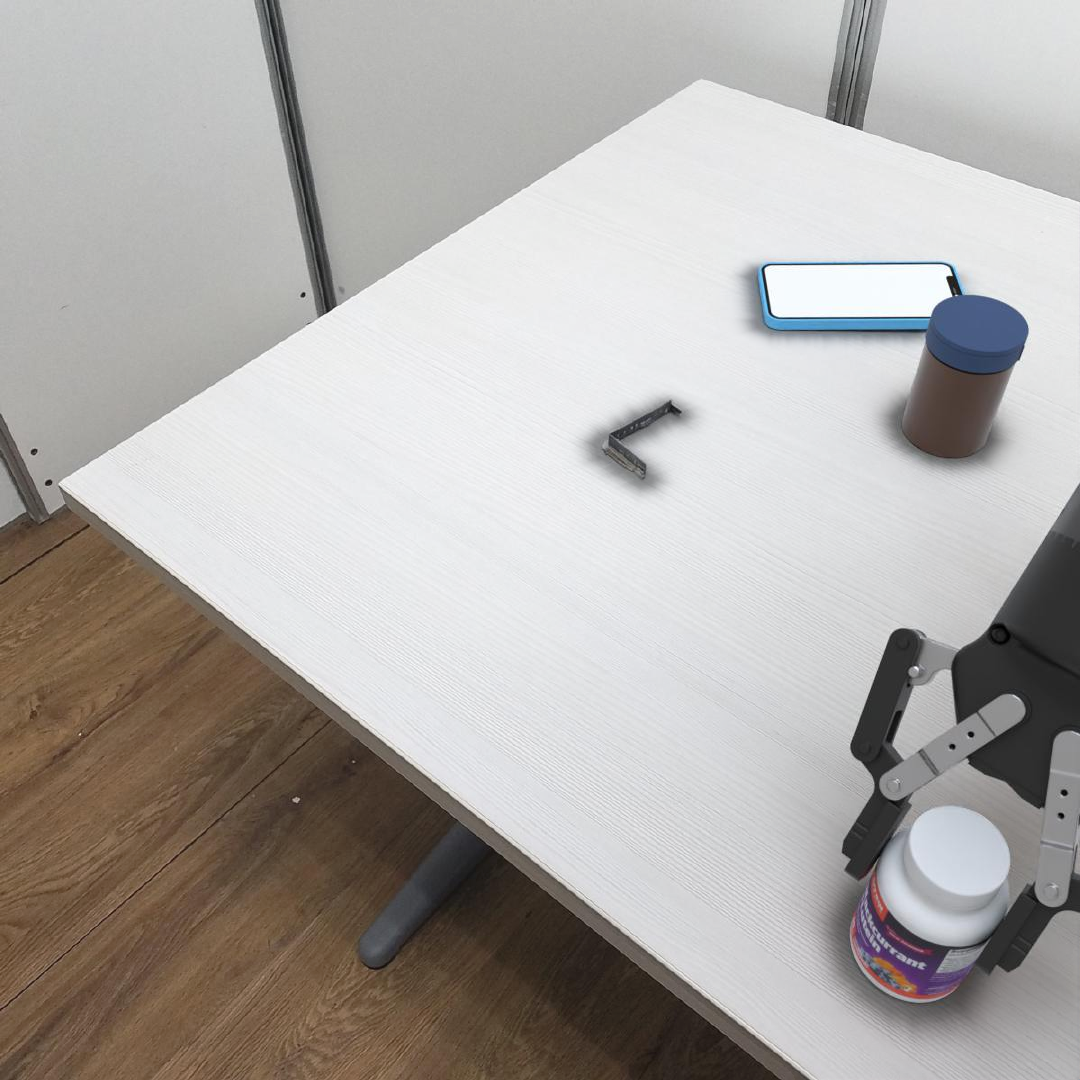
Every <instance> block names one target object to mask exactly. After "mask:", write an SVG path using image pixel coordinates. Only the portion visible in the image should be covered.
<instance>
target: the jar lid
mask: <svg viewBox="0 0 1080 1080" xmlns="http://www.w3.org/2000/svg"><path fill="white" fill-rule="evenodd" d="M1029 333H1030V328H1029V324H1028V321H1027V320H1026V318H1025V317H1024V316H1023V314H1022V313H1021V312H1020V311H1018V310H1017V309H1016V308H1015V307H1013V306H1011V305H1010V304H1008V303H1006V302H1004V301H1002V300H999V299H996V298H993V297H989V296H985V295H977V294H965V295H959V296H953V297H950V298H947V299H945V300H943V301H941V302H940V303H938V304H937V305H936V306H935V308H934V309H933V311H932V314H931V318H930V321H929V324H928V328H927V329H926V331H925V338H924V339H925V341H926V344H927V346H928V348H929V350H930V351H931V352H932V353H933V355H934V356H936V357H937V358H938V359H939V360H941V361H942V362H944V363H946V364H947V365H949V366H952V367H954V368H957V369H960V370H963V371H967V372H973V373H995V372H1000V371H1003V370H1006V369H1008V368H1010V367H1012V366H1013V365H1014V364H1015V365H1016V363H1017V362H1020V360H1021V358H1022V356H1023V352H1024V350H1025V347H1026V345H1025V344H1026V342H1027V339H1028V337H1029Z"/></svg>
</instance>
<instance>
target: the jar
mask: <svg viewBox="0 0 1080 1080" xmlns="http://www.w3.org/2000/svg"><path fill="white" fill-rule="evenodd" d="M1015 366H1016V363H1015V364H1014V365H1013V366H1012V367H1010V368H1008V369H1006V370H1003V371H1000V372H995V373H973V372H967V371H963V370H960V369H957V368H954V367H952V366H949V365H947V364H946V363H944V362H942V361H941V360H939V359H938V358H937V357H936V356H934V355H933V353H932V352H931V351H930V350H929V348H928V346H927V344H926V340H925V341H924V345H923V347H922V351H921V354H920V359H919V361H918V365H917V368H916V372H915V375H914V378H913V382H912V385H911V389H910V392H909V395H908V399H907V403H906V406H905V410H904V412H903V415H902V418H901V429H902V431H903V434H904V435H905V437H906V438H907V439H908V440H909V442H910V443H911V444H912V445H914V446H915V447H917V448H918V449H920V450H921V451H923V452H926V453H928V454H930V455H933V456H937V457H942V458H948V459H949V458H951V459H957V458H958V459H959V458H965V457H968V456H972V455H974V454H976V453H978V452H979V451H980V450H981V449H982V448H983V447H984V446H985V444H986V442H987V440H988V437H989V435H990V432H991V430H992V427H993V424H994V422H995V419H996V417H997V413H998V410H999V408H1000V406H1001V403H1002V401H1003V397H1004V395H1005V392H1006V390H1007V387H1008V384H1009V382H1010V379H1011V377H1012V375H1013V371H1014V368H1015Z"/></svg>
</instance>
